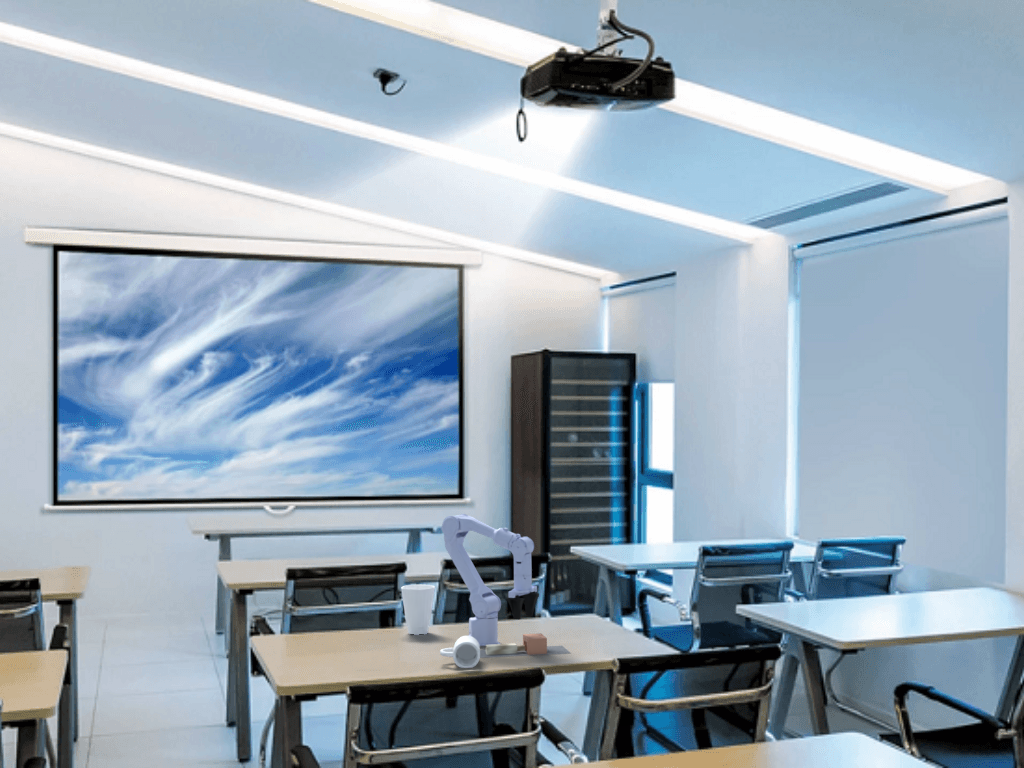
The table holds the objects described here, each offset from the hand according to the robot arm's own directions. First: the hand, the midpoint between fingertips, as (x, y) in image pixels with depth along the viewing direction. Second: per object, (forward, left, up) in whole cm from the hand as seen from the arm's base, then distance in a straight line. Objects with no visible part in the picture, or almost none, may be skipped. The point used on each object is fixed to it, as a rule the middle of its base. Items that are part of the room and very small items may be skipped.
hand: (523, 617), depth 340 cm
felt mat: (-4, -8, -10) cm, 13 cm away
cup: (-31, +33, -10) cm, 46 cm away
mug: (-24, -21, -10) cm, 33 cm away
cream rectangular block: (-8, -9, -9) cm, 15 cm away
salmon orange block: (+2, -9, -9) cm, 13 cm away
